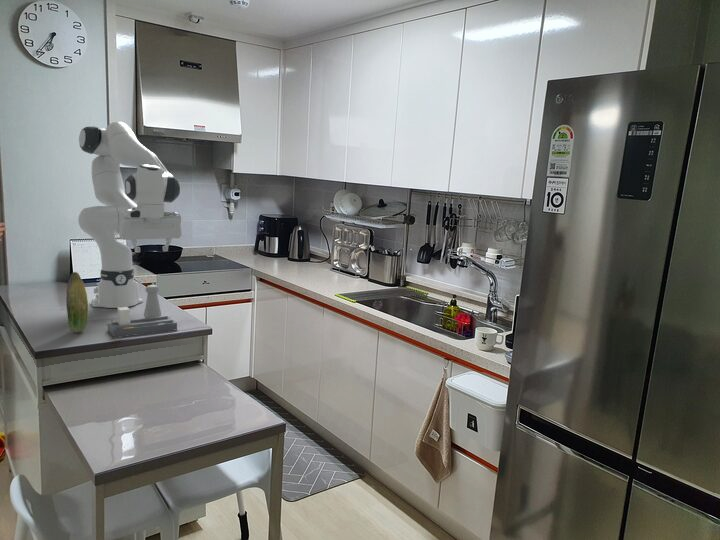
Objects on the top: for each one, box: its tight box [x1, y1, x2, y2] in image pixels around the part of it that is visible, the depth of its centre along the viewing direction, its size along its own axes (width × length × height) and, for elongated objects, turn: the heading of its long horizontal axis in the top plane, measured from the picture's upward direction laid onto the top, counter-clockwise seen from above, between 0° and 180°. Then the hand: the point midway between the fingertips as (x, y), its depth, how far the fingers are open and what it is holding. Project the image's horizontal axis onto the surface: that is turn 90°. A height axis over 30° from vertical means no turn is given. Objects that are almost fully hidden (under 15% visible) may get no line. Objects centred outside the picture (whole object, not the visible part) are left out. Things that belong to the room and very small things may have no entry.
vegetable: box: [65, 271, 89, 334], centre depth 173 cm, size 6×6×20 cm
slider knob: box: [117, 307, 131, 325], centre depth 176 cm, size 4×3×5 cm
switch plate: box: [107, 315, 178, 338], centre depth 180 cm, size 9×20×3 cm, turn 126°
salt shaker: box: [143, 284, 162, 318], centre depth 191 cm, size 6×6×13 cm
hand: (151, 251), depth 188 cm, fingers open, 8 cm apart
